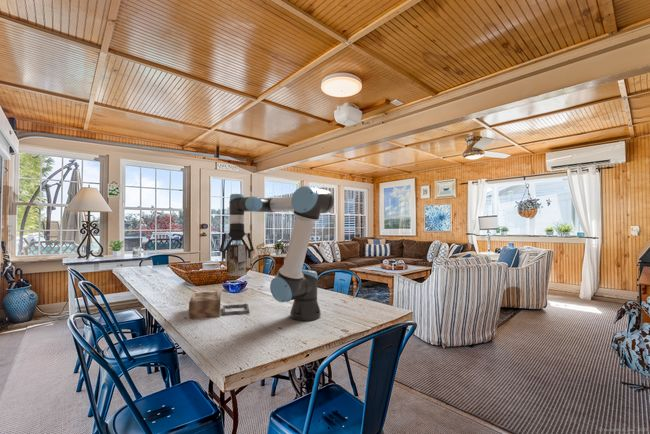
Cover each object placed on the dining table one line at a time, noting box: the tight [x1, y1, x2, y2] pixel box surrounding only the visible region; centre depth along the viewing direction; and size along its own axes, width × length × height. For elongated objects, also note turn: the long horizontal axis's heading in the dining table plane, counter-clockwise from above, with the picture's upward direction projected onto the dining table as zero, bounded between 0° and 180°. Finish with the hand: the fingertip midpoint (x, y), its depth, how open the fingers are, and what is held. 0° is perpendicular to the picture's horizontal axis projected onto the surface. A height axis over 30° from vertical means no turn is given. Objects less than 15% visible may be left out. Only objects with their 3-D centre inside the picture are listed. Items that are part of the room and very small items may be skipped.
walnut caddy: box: [188, 290, 250, 320], centre depth 163 cm, size 28×18×10 cm, turn 107°
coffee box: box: [226, 243, 248, 277], centre depth 166 cm, size 9×6×16 cm
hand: (236, 264), depth 166 cm, fingers closed on coffee box, 10 cm apart
